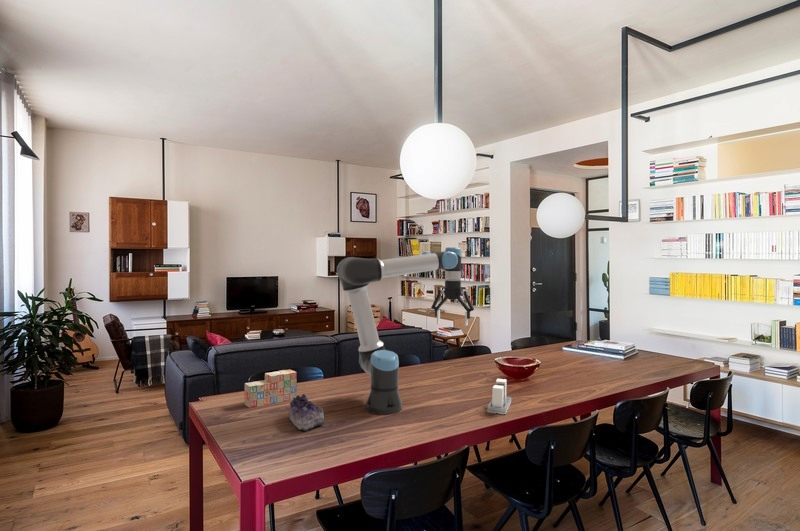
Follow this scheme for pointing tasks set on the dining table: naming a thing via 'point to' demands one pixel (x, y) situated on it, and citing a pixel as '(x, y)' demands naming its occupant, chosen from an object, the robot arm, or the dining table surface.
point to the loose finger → (502, 383)
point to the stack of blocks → (271, 389)
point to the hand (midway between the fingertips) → (452, 324)
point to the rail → (498, 409)
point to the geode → (305, 413)
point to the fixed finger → (498, 396)
